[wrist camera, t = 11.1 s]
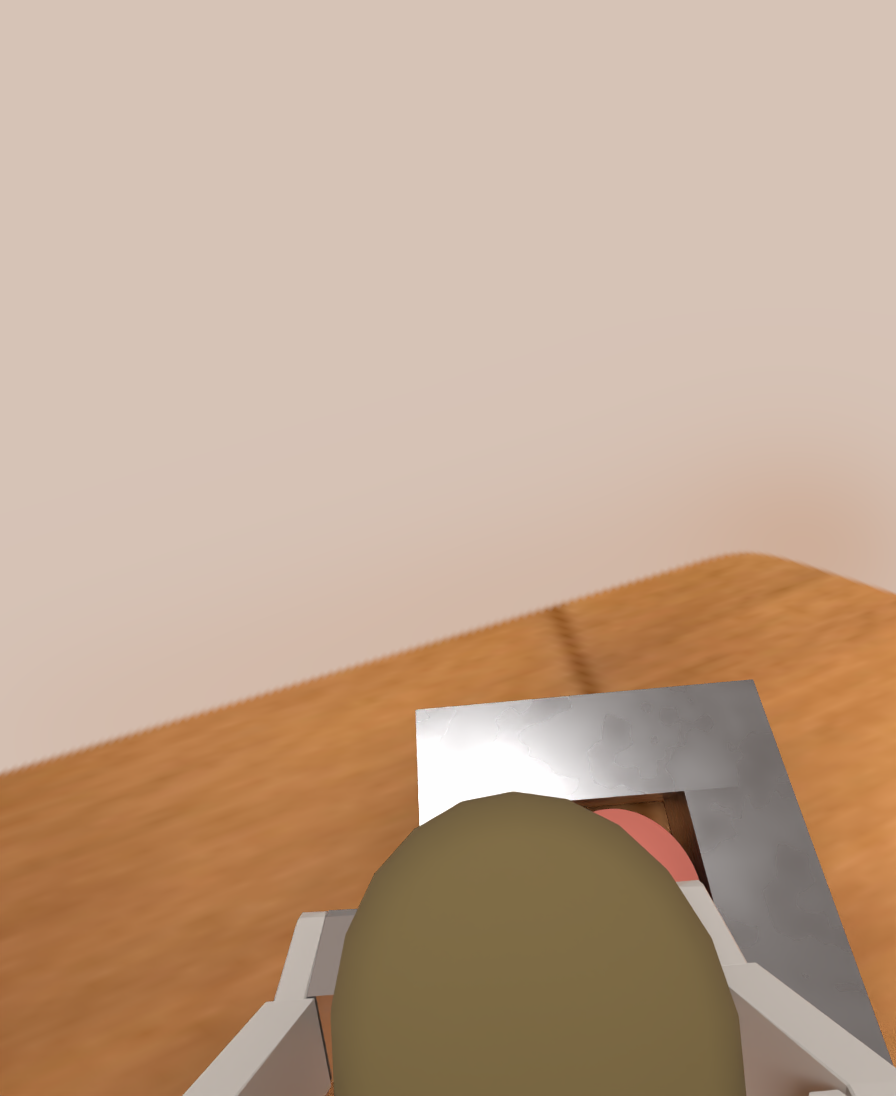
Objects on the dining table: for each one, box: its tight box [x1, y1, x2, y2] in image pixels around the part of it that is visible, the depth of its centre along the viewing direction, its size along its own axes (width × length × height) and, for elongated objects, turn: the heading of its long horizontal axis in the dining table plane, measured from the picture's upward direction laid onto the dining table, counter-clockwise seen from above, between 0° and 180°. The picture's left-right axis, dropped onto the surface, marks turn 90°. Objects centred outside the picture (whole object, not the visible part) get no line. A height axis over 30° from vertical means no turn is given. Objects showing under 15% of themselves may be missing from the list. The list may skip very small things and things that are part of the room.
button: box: [594, 809, 699, 882], centre depth 23 cm, size 6×6×4 cm
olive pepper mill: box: [331, 791, 746, 1096], centre depth 11 cm, size 6×6×11 cm
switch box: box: [416, 680, 893, 1065], centre depth 23 cm, size 16×16×4 cm
